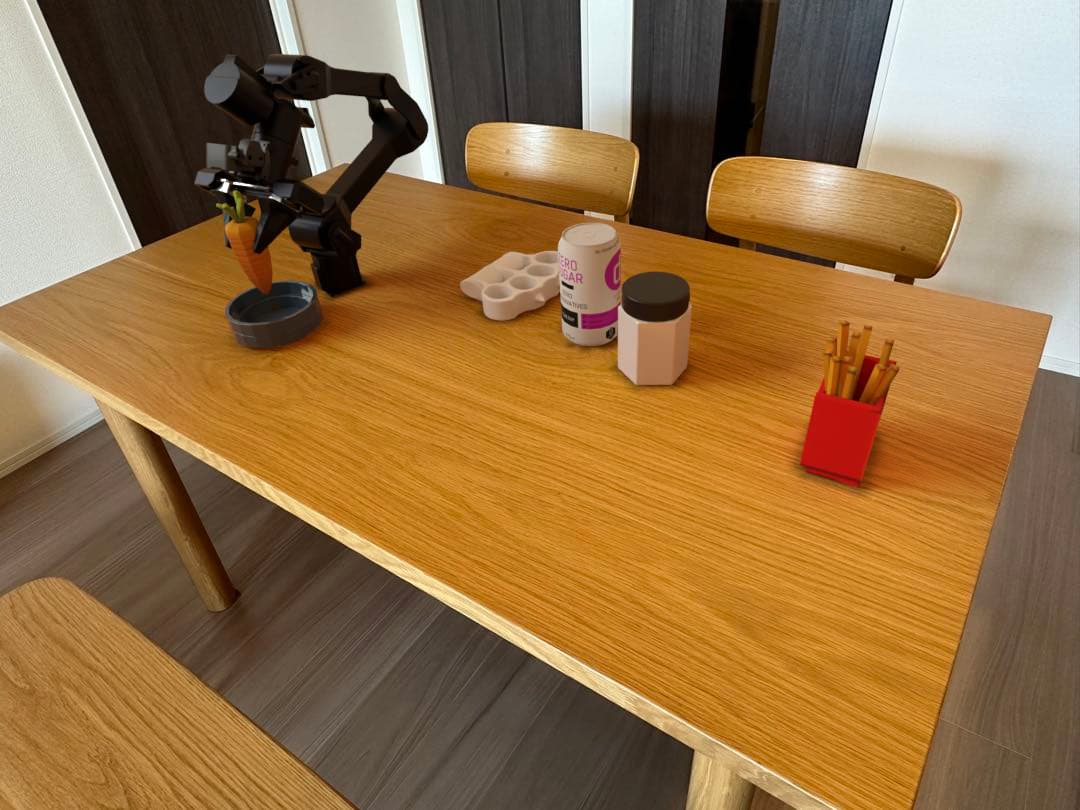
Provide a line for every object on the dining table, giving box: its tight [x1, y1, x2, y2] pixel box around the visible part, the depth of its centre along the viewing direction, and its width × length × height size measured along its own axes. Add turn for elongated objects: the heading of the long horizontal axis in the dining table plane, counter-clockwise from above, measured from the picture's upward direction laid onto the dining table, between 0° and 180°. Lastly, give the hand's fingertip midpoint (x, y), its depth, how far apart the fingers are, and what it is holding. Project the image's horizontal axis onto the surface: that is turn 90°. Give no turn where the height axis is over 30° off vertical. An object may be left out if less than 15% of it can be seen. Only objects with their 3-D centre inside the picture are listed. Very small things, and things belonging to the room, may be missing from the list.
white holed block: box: [459, 250, 560, 322], centre depth 108 cm, size 3×18×15 cm
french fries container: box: [799, 320, 901, 489], centre depth 72 cm, size 7×9×14 cm
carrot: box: [216, 190, 274, 294], centre depth 97 cm, size 5×5×15 cm
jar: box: [617, 270, 693, 386], centre depth 87 cm, size 9×8×12 cm
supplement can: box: [557, 222, 622, 347], centre depth 94 cm, size 8×8×15 cm
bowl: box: [224, 279, 325, 349], centre depth 104 cm, size 13×13×4 cm
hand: (242, 250), depth 96 cm, fingers closed on carrot, 5 cm apart
